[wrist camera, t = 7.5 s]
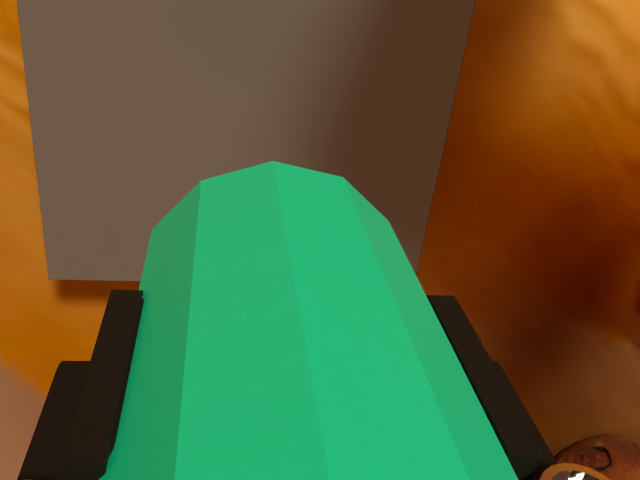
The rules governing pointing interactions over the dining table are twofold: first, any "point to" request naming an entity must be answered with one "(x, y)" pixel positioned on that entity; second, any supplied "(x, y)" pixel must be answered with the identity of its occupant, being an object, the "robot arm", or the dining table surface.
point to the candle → (292, 346)
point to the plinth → (229, 109)
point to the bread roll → (606, 456)
